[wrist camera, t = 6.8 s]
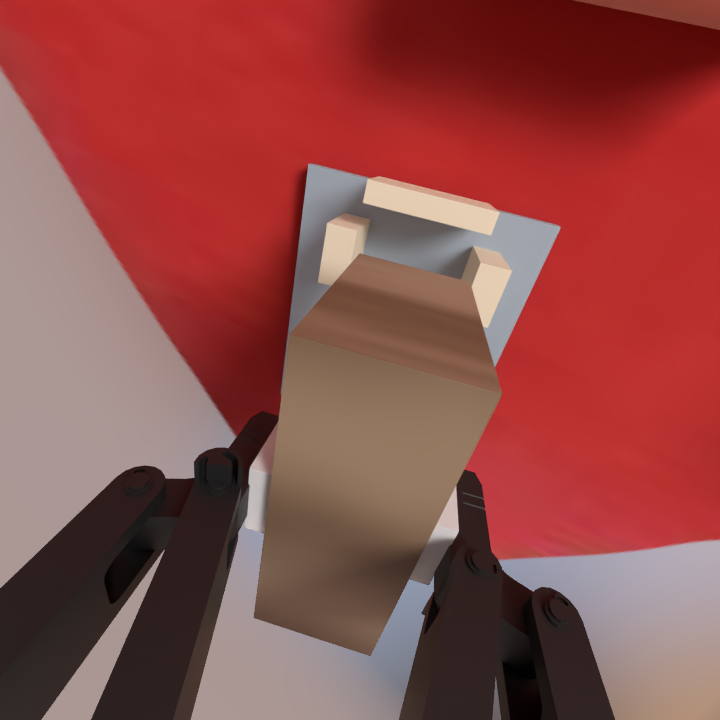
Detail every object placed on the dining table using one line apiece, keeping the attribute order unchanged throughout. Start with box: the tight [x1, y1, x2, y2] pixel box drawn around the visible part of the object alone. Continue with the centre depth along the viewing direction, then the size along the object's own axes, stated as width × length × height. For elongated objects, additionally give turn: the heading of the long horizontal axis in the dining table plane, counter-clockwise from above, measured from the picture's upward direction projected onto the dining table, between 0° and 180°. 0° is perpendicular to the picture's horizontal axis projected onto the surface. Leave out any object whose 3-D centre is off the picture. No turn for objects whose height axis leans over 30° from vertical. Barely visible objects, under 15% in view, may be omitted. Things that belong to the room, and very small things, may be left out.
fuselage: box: [254, 253, 502, 656], centre depth 14 cm, size 12×4×8 cm, turn 168°
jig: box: [280, 164, 561, 395], centre depth 22 cm, size 16×14×5 cm
